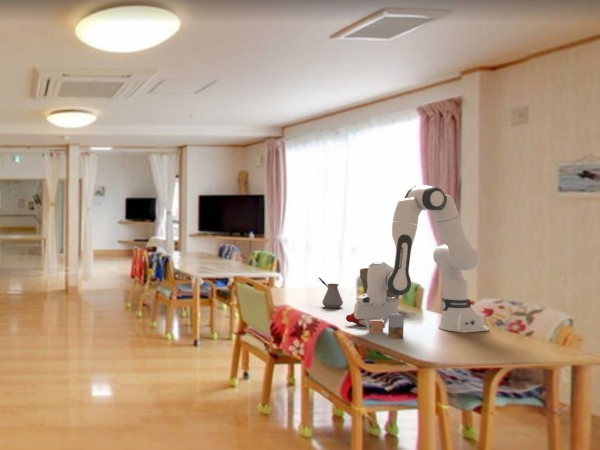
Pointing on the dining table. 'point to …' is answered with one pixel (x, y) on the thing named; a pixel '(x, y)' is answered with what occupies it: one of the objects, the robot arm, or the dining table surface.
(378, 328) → the terracotta block
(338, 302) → the coffee pot
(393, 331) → the tower base
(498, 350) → the dining table surface
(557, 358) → the dining table surface
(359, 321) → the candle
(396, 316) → the block
